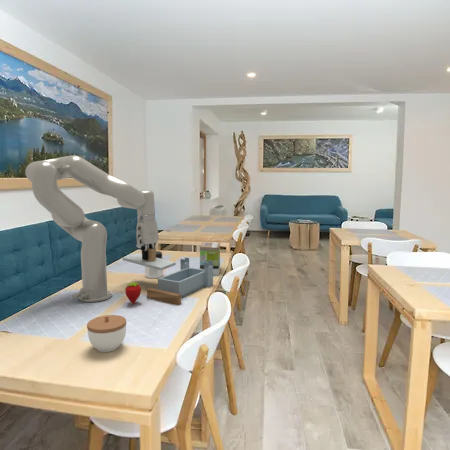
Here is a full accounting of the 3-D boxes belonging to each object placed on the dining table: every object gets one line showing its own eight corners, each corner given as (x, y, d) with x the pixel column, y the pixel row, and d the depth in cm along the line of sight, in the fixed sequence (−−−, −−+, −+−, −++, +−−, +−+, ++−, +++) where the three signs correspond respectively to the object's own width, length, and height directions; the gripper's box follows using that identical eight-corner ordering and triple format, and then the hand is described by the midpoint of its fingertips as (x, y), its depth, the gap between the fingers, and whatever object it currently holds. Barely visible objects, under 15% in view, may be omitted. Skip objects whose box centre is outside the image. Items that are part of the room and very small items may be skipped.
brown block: (177, 305, 138) (177, 296, 138) (146, 298, 146) (146, 289, 146) (181, 304, 140) (181, 294, 140) (150, 297, 148) (150, 287, 148)
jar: (166, 276, 178) (165, 253, 177) (151, 279, 173) (150, 255, 172) (157, 273, 185) (156, 250, 184) (142, 275, 180) (142, 252, 179)
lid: (122, 260, 163) (123, 246, 161) (138, 255, 172) (138, 242, 170) (160, 270, 152) (161, 256, 151) (175, 265, 161) (176, 251, 160)
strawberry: (143, 300, 144) (142, 276, 142) (139, 307, 136) (138, 281, 135) (128, 300, 143) (127, 276, 142) (123, 307, 136) (122, 281, 135)
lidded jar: (130, 338, 109) (129, 309, 108) (121, 356, 99) (120, 323, 97) (95, 339, 109) (93, 309, 108) (82, 356, 98) (80, 324, 97)
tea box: (219, 275, 180) (219, 246, 179) (199, 275, 181) (199, 246, 179) (220, 268, 195) (220, 241, 193) (201, 268, 196) (201, 241, 194)
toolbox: (183, 300, 144) (183, 272, 143) (154, 294, 151) (153, 267, 150) (213, 285, 164) (212, 260, 163) (185, 280, 171) (185, 257, 170)
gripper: (140, 220, 150) (142, 263, 153) (164, 216, 165) (166, 255, 167) (126, 220, 154) (129, 261, 157) (151, 215, 168) (153, 254, 171)
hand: (148, 258), depth 162 cm, fingers closed on lid, 3 cm apart
